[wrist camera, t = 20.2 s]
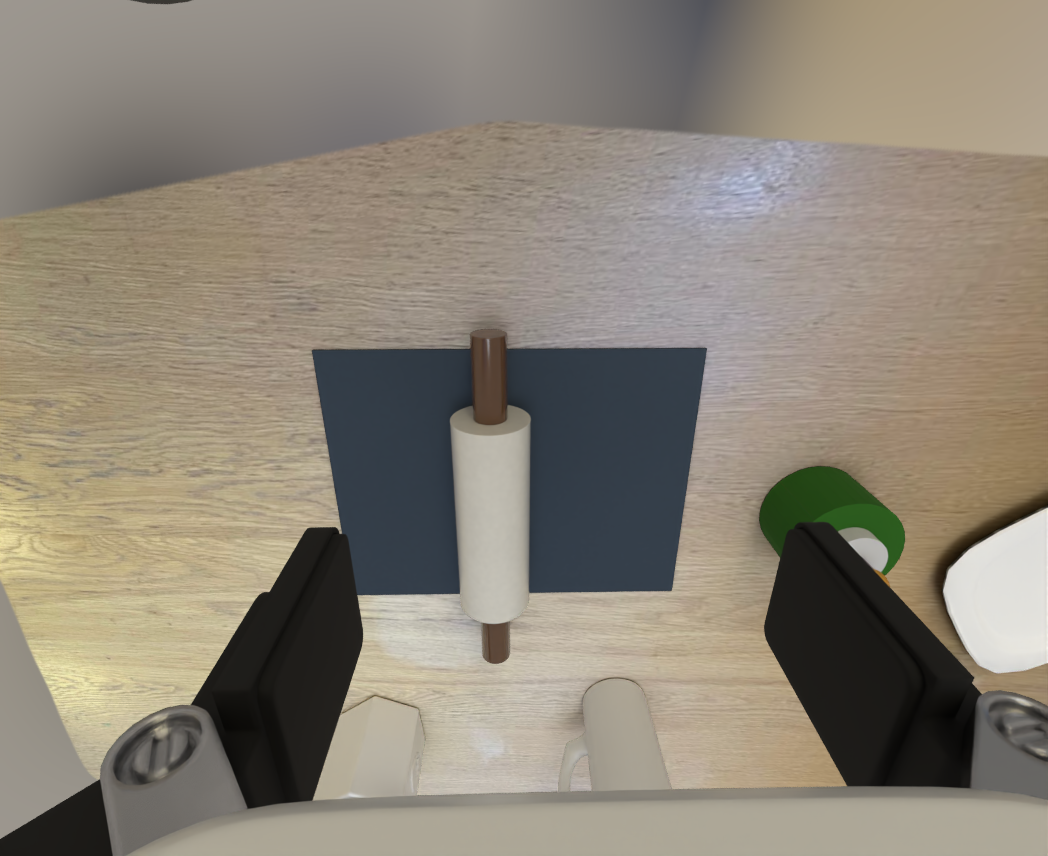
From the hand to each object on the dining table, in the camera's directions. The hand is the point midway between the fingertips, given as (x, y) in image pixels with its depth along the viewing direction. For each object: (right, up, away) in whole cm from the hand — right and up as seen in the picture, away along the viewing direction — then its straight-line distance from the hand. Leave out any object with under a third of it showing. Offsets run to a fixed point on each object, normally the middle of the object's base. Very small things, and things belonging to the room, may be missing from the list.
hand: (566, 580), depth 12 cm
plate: (+46, -10, +37) cm, 59 cm away
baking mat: (-2, -1, +32) cm, 32 cm away
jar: (-15, -27, +43) cm, 53 cm away
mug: (+7, -24, +42) cm, 49 cm away
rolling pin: (-6, -4, +28) cm, 29 cm away
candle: (+23, -4, +33) cm, 41 cm away
